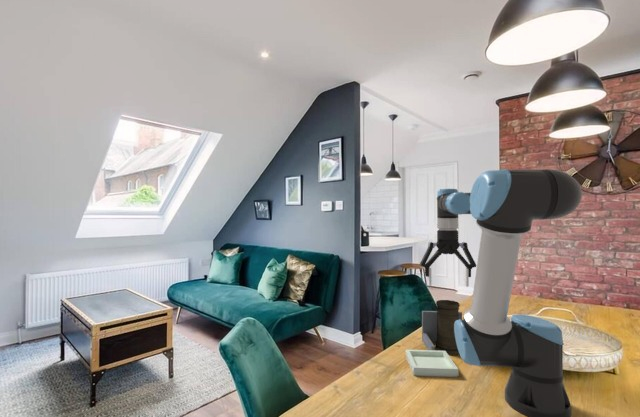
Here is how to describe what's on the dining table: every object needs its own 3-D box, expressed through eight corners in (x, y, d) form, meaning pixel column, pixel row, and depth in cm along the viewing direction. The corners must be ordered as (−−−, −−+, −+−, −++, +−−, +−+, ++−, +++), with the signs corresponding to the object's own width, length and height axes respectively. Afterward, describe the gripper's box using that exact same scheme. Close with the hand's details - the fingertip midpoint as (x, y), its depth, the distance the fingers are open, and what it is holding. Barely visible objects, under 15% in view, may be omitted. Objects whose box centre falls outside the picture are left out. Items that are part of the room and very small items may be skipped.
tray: (458, 377, 106) (458, 369, 106) (413, 375, 107) (413, 367, 107) (445, 357, 120) (445, 350, 120) (405, 356, 121) (405, 349, 121)
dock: (475, 357, 120) (475, 324, 120) (431, 356, 121) (431, 322, 121) (461, 341, 135) (460, 311, 135) (422, 340, 136) (422, 310, 136)
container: (463, 356, 121) (463, 306, 121) (437, 353, 123) (437, 305, 123) (458, 346, 130) (458, 299, 130) (434, 344, 132) (433, 298, 132)
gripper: (477, 229, 130) (477, 283, 130) (412, 228, 132) (412, 282, 131) (485, 230, 122) (485, 288, 122) (416, 229, 124) (416, 287, 124)
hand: (447, 285), depth 127 cm, fingers open, 13 cm apart
